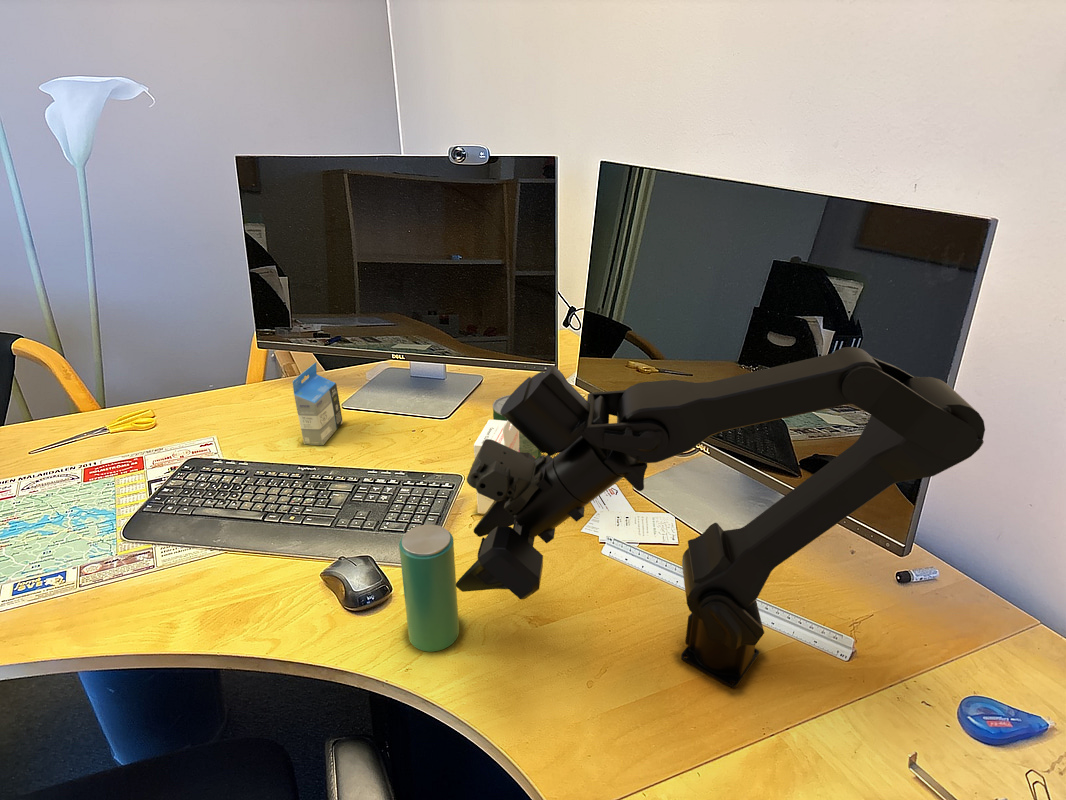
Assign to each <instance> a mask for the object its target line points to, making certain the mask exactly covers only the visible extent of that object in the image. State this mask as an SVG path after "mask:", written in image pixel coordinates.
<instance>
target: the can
mask: <svg viewBox="0 0 1066 800" xmlns="http://www.w3.org/2000/svg"><path fill="white" fill-rule="evenodd" d="M454 543H455V542H454V536H453V534H452V533H451V531H449V530H448V529H447V528H445V527H443V526H441V525H438V524H421V525H417V526H415V527H412V528H410V529H409V530H407V531H406V532H405V533H404V534H403V536H402V537H401V538H400V540H399V543H398V547H399V557H400V558H399V559H400V567H401V577H402V586H403V595H404V606H405V614H406V623H407V624H406V625H407V633H408V640H409V642H410V644H411V645H412V646H413V647H414V648H416V649H418V650H419V651H423V652H429V653H431V652H440V651H442V650H445V649H447V648H449V647H450V646H451V645H453V644H454V643H455V642H456V640H457V639H458V637H459V634H460V625H459V624H460V623H459V608H458V607H459V605H458V591H457V589H458V588H457V587H456V583H457V578H456V577H457V576H456V575H457V574H456V560H455V559H456V558H455V545H454Z"/></svg>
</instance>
